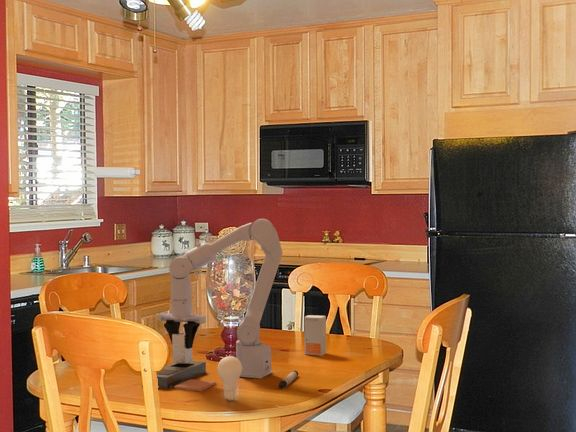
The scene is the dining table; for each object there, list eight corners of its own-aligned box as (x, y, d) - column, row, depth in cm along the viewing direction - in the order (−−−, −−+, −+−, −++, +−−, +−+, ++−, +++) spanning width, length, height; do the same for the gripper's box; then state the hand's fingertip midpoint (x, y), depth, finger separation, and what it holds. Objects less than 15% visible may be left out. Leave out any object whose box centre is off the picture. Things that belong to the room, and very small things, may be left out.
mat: (215, 384, 211) (215, 381, 211) (200, 391, 204) (200, 388, 204) (190, 381, 215) (190, 379, 215) (174, 388, 208) (174, 386, 207)
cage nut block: (192, 360, 222) (191, 332, 222) (185, 363, 219) (184, 334, 219) (180, 359, 224) (179, 331, 224) (172, 362, 220) (172, 333, 220)
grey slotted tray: (205, 372, 225) (205, 361, 225) (167, 388, 207) (167, 377, 207) (182, 370, 229) (181, 359, 229) (142, 386, 210) (141, 374, 210)
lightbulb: (218, 397, 198) (217, 354, 197) (242, 396, 198) (241, 353, 198) (217, 404, 192) (217, 359, 191) (243, 403, 192) (242, 358, 192)
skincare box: (304, 354, 247) (303, 316, 247) (308, 352, 251) (308, 314, 251) (322, 356, 245) (321, 317, 245) (326, 353, 249) (326, 315, 249)
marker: (291, 377, 219) (291, 370, 219) (298, 377, 219) (298, 370, 219) (275, 391, 204) (275, 383, 204) (283, 391, 204) (282, 383, 204)
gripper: (151, 300, 220) (152, 348, 221) (196, 302, 214) (197, 352, 215) (165, 297, 227) (166, 343, 227) (209, 299, 221) (210, 347, 221)
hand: (182, 347), depth 221 cm, fingers closed on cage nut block, 4 cm apart
